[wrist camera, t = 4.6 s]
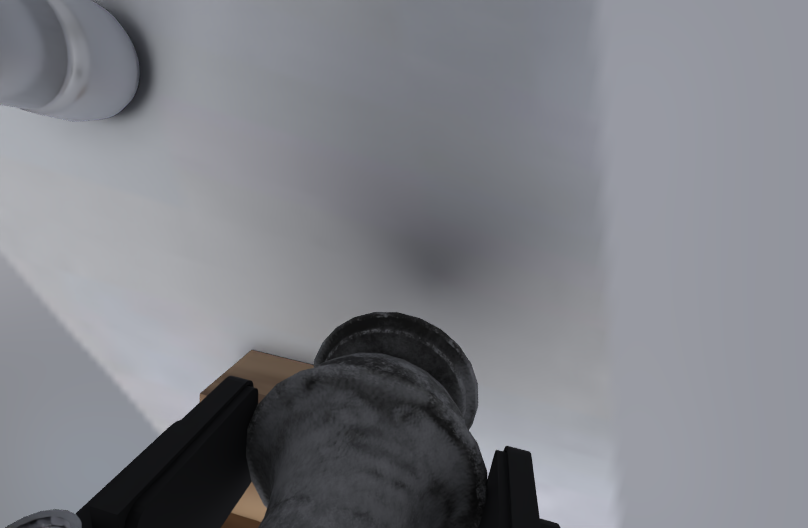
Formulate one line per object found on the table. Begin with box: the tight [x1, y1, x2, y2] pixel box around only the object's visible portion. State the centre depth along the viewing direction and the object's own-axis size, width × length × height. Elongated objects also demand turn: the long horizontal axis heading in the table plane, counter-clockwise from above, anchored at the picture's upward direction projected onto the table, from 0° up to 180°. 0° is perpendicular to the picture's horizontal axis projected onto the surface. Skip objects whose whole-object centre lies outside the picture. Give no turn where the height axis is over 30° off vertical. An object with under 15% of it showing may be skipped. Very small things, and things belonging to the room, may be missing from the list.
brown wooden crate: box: [200, 350, 314, 528], centre depth 26 cm, size 10×10×5 cm
